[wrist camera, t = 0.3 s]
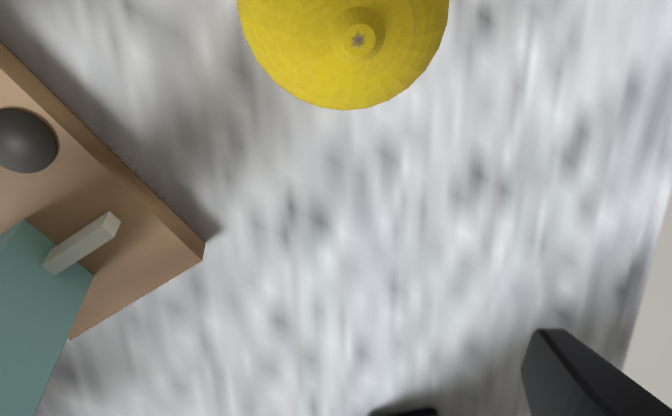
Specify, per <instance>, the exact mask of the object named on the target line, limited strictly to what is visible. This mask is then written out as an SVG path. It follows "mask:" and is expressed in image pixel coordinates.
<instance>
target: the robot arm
mask: <svg viewBox="0 0 672 416" xmlns="http://www.w3.org/2000/svg"><path fill="white" fill-rule="evenodd" d="M521 378H522V382H523V386H524V389H525V393H526V397H527V400H528V404H529V408H530V412H531V415H532V416H672V409H671V408H669V407H668V406H667V405H665V404H664V403H662V402H661V401H660V400H659V399H657V398H656V397H655V396H653V395H652V394H651V393H649V392H648V391H647V390H645V389H644V388H643V387H641V386H640V385H639V384H637V383H636V382H635V381H633V380H632V379H630V378H629V377H628V376H627V375H625V374H624V373H623V372H621V371H620V370H618V369H617V368H616V367H614V366H613V365H612V364H610V363H609V362H608V361H606V360H605V359H604V358H602V357H601V356H600V355H598V354H597V353H596V352H594V351H593V350H592V349H590V348H589V347H588V346H586V345H585V344H584V343H582V342H581V341H580V340H578V339H577V338H576V337H574V336H573V335H572V334H570V333H569V332H568V331H566V330H564V329H562V328H537V329H536V330H535V331H534V332H533V333H532V336H531V338H530V341H529V344H528V347H527V350H526V353H525V355H524V358H523V361H522V365H521ZM399 416H439V414H438V411H437V410H435V409H427V410H422V411H418V412H413V413H409V414H404V415H399Z"/></svg>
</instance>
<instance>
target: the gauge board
mask: <svg viewBox="0 0 672 416" xmlns="http://www.w3.org/2000/svg"><path fill="white" fill-rule="evenodd" d="M108 211H110V212H111V213H112V214H113V215H114V216H116V217H117V218H118V219H119V220H120V221H121V223H120V225H119V228H118V230H117V232H116V235H115V237H114V238H112V239H111V240H109V241H108V242H106V243H105V244H103V245H102V246H100V247H98V248H97V249H95V250H94V251H92V252H91V253H89V254H88V255H86V256H85V257H83V258H81V259H80V260H78V261H77V262H78V263H79V264H80V265H81V266H83V267H84V268H85V269H86V270H88V271H89V272H90V273H91V274H93V275H94V277H93V279H92V281H91V284H90V286H89V288H88V291H87V293H86V295H85V298H84V300H83V302H82V304H81V307H80V309H79V311H78V314H77V316H76V318H75V321H74V323H73V325H72V328H71V330H70V332H69V334H68V337H67V338H68V339H70V340H71V339H73V338H74V337H76V336H78V335H79V334H81V333H83V332H84V331H86V330H88V329H89V328H91V327H93V326H94V325H96V324H98V323H99V322H101V321H103V320H104V319H106V318H108V317H109V316H111V315H113V314H114V313H116V312H118V311H119V310H121V309H123V308H124V307H126V306H128V305H129V304H131V303H133V302H134V301H136V300H138V299H139V298H141V297H143V296H144V295H146V294H148V293H149V292H151V291H153V290H154V289H156V288H157V287H159V286H161V285H162V284H164V283H166V282H167V281H169V280H171V279H172V278H174V277H176V276H177V275H179V274H181V273H182V272H184V271H186V270H187V269H189V268H191V267H192V266H194V265H196V264H197V263H199V262H201V261H202V259H203V253H204V248H205V242H204V241H203V240H202V239H201V238H200V237H199V236H198V235H197V234H196V233H195V232H194V231H192V230H191V229H190V228H189V227H188V226H187V225H186V224H185V223H184V222H183V221H182V220H181V219H180V218H179V217H178V216H177V215H176V214H175V213H174V212H173V211H172V210H171V209H170V208H169V207H168V206H167V205H166V204H165V203H164V202H163V201H162V200H161V199H160V198H159V197H158V196H157V195H156V194H155V193H154V192H153V191H152V190H151V189H150V188H149V187H148V186H147V185H146V184H145V183H144V182H143V181H142V180H140V179H139V178H138V177H137V176H136V175H135V174H134V173H133V172H132V171H131V170H130V169H129V168H128V167H127V166H126V165H125V164H124V163H123V162H122V161H121V160H120V159H119V158H118V157H117V156H116V155H115V154H114V153H113V152H112V151H111V150H110V149H109V148H108V147H107V146H106V145H105V144H104V143H103V142H102V141H101V140H100V139H99V138H98V137H97V136H96V135H95V134H94V133H93V132H92V131H91V130H90V129H89V128H87V127H86V126H85V125H84V124H83V123H82V122H81V121H80V120H79V119H78V118H77V117H76V116H75V115H74V114H73V113H72V112H71V111H70V110H69V109H68V108H67V107H66V106H65V105H64V104H63V103H62V102H61V101H60V100H59V99H58V98H57V97H56V96H55V95H54V94H53V93H52V92H51V91H50V90H49V89H48V88H47V87H46V86H45V85H44V84H43V83H42V82H41V81H40V80H39V79H38V78H37V77H36V76H34V75H33V74H32V73H31V72H30V71H29V70H28V69H27V68H26V67H25V66H24V65H23V64H22V63H21V62H20V61H19V60H18V59H17V58H16V57H15V56H14V55H13V54H12V53H11V52H10V51H9V50H8V49H7V48H6V47H5V46H4V45H3V44H2V43H1V42H0V235H1V234H2V233H4V232H5V231H7V230H8V229H10V228H11V227H13V226H14V225H15V224H17V223H18V222H20V221H21V220H23V219H25V220H26V221H27V222H28V223H30V224H31V225H32V226H33V227H34V228H36V229H37V230H38V231H39V232H41V233H42V234H43V235H44V236H46V237H47V238H48V239H49V240H51V241H52V242H53V243H54V244H55V245H58V244H60V243H62V242H63V241H65V240H66V239H68V238H69V237H71V236H72V235H74V234H75V233H77V232H78V231H80V230H81V229H83V228H84V227H86V226H87V225H89V224H90V223H92V222H93V221H95V220H96V219H98V218H99V217H101V216H102V215H104V214H105V213H107V212H108Z"/></svg>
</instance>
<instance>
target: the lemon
mask: <svg viewBox="0 0 672 416" xmlns="http://www.w3.org/2000/svg"><path fill="white" fill-rule="evenodd" d="M237 8H238V12H239V17H240V21H241V25H242V29H243V33H244V36H245V38H246V40H247V42H248V44H249V46H250V48H251V50H252V52H253V54H254V56H255V58H256V60H257V61H258V63H259V64H260V65H261V66H262V67H263V69H264V70H265V71H266V72H267V73H268V74H269V76H270V77H271V78H272V79H273V80H274V81H275V83H276V84H278V85H279V86H281V87H282V88H283V89H285V90H286V91H288V92H289V93H291V94H292V95H294V96H295V97H296V98H298V99H300V100H302V101H305V102H308V103H310V104H313V105H315V106H318V107H321V108H328V109H336V110H354V109H362V108H368V107H371V106H374V105H377V104H380V103H382V102H385V101H388V100H390V99H391V98H393V97H394V96H396V95H398V94H399V93H401V92H402V91H404V90H405V89H407V88H408V87H409V86H410V85H411V84H412V83H413V82H414V81H415V80H416V79H417V78H418V77H419V76H420V75H421V74H422V73H423V72H424V71H425V70H426V68H427V66H428V65H429V63H430V61H431V60H432V58H433V57H434V55H435V53H436V52H437V50H438V48H439V45H440V43H441V40H442V37H443V34H444V31H445V28H446V25H447V19H448V8H449V0H237Z"/></svg>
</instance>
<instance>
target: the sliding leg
mask: <svg viewBox="0 0 672 416" xmlns="http://www.w3.org/2000/svg"><path fill="white" fill-rule="evenodd" d="M120 223H121V221H120V220H119V219H118V218H117V217H116V216H114V215H113V214H112V213H111V212H110V211H108V212H107V213H105V214H104V215H102V216H101V217H99V218H98V219H96V220H95V221H93V222H92V223H90V224H89V225H87V226H86V227H84V228H83V229H81V230H80V231H78V232H77V233H75V234H74V235H72V236H71V237H69V238H68V239H66V240H65V241H63V242H62V243H60V244H58V245H55V244H54V243H53V242H52V241H51V240H49V239H48V238H47V237H46V236H44V235H43V234H42V233H41V232H39V231H38V230H37V229H36V228H34V227H33V226H32V225H31V224H30V223H28V222H27V221H26V220H25V219H23V220H21V221H20V222H18V223H17V224H15V225H14V226H13V227H11V228H10V229H8V230H7V231H5V232H4V233H2V234H1V235H0V416H33V415H34V413H35V411H36V408H37V406H38V404H39V401H40V399H41V397H42V394H43V392H44V390H45V388H46V385H47V383H48V381H49V378H50V376H51V374H52V371H53V369H54V367H55V364H56V362H57V360H58V358H59V355H60V353H61V351H62V348H63V346H64V344H65V341H66V339H67V337H68V334H69V332H70V330H71V328H72V325H73V323H74V321H75V318H76V316H77V314H78V311H79V309H80V307H81V304H82V302H83V300H84V298H85V295H86V293H87V291H88V288H89V286H90V284H91V281H92V279H93V277H94V275H93V274H91V273H90V272H89V271H88V270H86V269H85V268H84V267H83V266H81V265H80V264H79V263H78V262H77V261H78V260H80V259H81V258H83V257H85V256H86V255H88V254H89V253H91V252H92V251H94V250H95V249H97V248H98V247H100V246H102V245H103V244H105V243H106V242H108V241H109V240H111V239H112V238H114V237H115V235H116V232H117V230H118V228H119V225H120Z"/></svg>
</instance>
